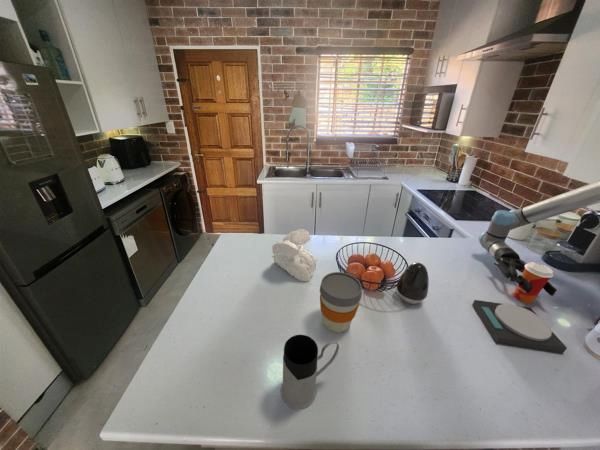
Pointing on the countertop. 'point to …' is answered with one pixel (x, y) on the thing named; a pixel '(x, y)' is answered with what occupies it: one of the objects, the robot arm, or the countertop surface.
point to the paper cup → (533, 281)
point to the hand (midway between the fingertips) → (541, 291)
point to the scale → (517, 326)
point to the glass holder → (302, 370)
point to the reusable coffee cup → (339, 300)
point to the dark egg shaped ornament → (413, 283)
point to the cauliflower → (295, 255)
